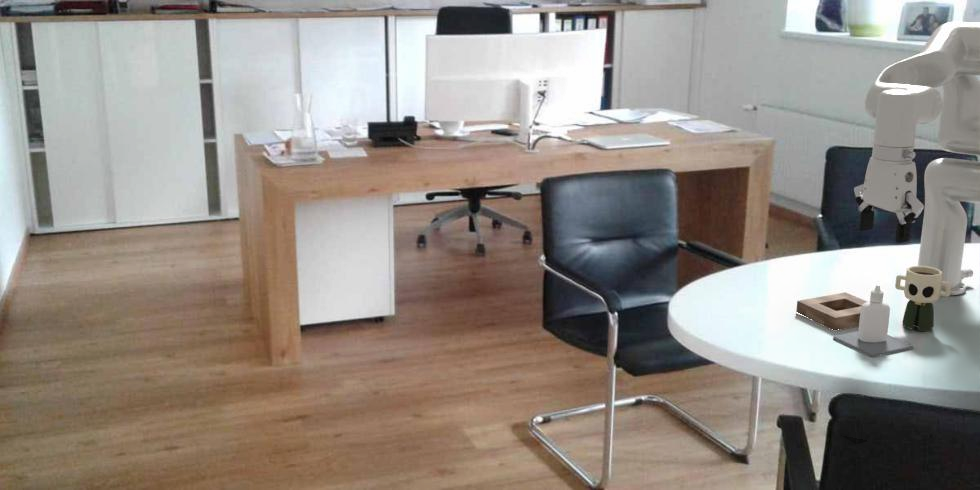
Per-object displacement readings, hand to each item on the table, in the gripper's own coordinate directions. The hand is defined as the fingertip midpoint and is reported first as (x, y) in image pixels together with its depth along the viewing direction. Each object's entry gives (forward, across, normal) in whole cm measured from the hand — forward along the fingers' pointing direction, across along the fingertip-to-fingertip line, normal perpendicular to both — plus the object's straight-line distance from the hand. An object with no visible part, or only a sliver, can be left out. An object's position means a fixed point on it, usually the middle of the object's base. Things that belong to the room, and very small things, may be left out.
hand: (883, 235), depth 206 cm
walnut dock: (+23, +13, -3) cm, 27 cm away
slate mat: (+23, -2, +2) cm, 23 cm away
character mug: (+23, +1, -14) cm, 27 cm away
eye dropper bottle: (+22, -1, +2) cm, 22 cm away
